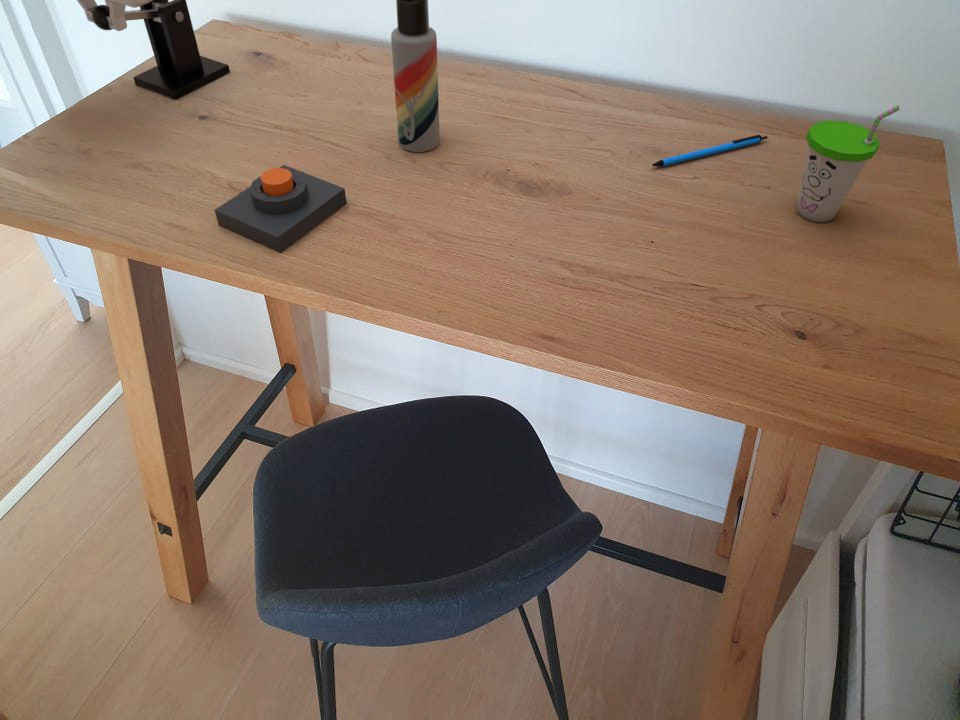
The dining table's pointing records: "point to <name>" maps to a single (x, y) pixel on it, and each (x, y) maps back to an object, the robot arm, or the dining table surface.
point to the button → (277, 182)
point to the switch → (104, 10)
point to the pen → (711, 150)
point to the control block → (281, 210)
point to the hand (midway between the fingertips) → (108, 25)
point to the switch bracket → (176, 53)
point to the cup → (834, 165)
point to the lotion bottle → (415, 77)
